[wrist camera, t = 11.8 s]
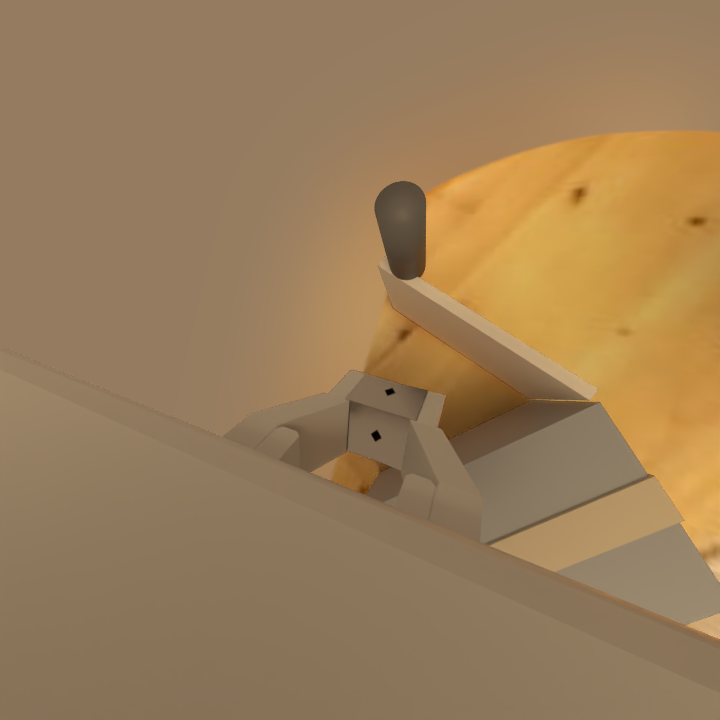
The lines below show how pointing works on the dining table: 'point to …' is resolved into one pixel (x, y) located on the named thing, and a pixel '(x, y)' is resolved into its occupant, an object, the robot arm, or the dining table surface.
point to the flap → (458, 306)
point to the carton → (580, 507)
